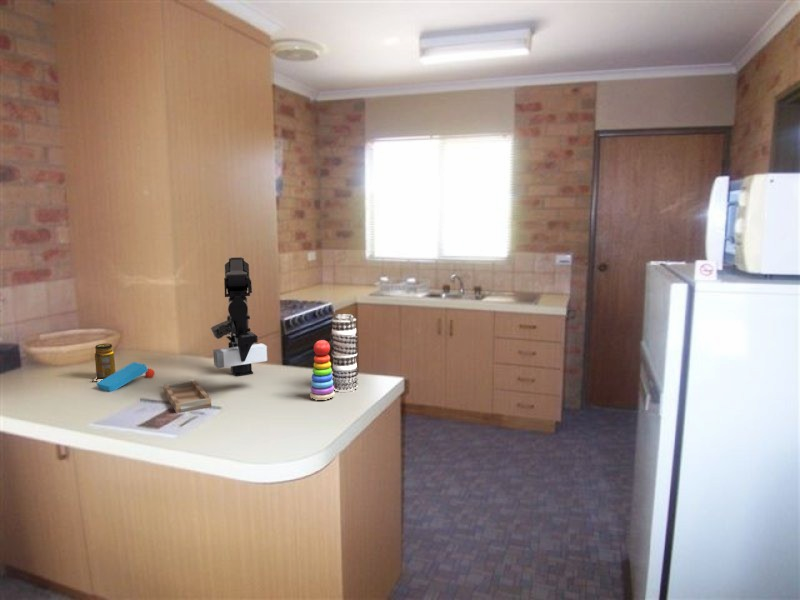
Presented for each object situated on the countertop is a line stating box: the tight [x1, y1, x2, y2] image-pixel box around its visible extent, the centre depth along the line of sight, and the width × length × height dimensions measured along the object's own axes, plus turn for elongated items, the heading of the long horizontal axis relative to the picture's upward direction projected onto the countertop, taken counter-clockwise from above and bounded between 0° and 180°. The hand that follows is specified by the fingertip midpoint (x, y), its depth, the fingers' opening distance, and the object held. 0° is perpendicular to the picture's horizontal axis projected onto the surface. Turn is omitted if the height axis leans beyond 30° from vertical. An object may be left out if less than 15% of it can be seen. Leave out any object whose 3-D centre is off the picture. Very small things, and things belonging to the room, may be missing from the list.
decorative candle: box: [329, 313, 359, 390], centre depth 181 cm, size 9×9×25 cm
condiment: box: [90, 343, 116, 383], centre depth 194 cm, size 7×8×12 cm
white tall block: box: [212, 343, 268, 369], centre depth 178 cm, size 16×4×5 cm, turn 122°
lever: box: [96, 361, 155, 393], centre depth 189 cm, size 7×7×18 cm
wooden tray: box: [163, 380, 212, 414], centre depth 172 cm, size 21×10×2 cm, turn 32°
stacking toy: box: [309, 339, 336, 401], centre depth 173 cm, size 8×8×19 cm
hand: (240, 359), depth 178 cm, fingers closed on white tall block, 4 cm apart
